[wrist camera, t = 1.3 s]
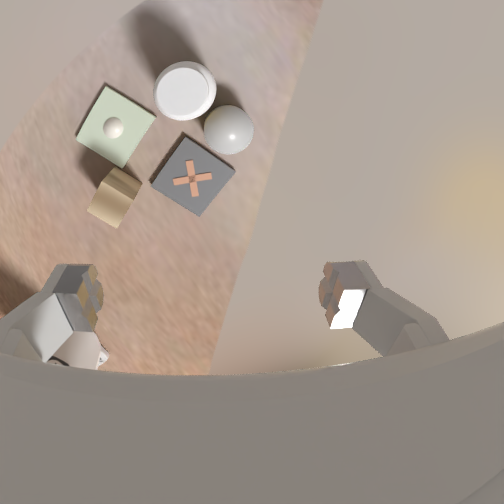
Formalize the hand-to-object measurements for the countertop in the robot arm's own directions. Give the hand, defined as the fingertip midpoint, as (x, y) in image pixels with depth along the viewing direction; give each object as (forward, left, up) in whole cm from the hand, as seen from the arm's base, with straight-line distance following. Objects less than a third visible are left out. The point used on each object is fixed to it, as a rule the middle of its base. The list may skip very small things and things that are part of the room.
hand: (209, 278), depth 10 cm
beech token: (-11, +5, -24) cm, 27 cm away
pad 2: (-5, -2, -24) cm, 25 cm away
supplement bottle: (+3, +5, -25) cm, 25 cm away
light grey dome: (+2, -1, -24) cm, 25 cm away
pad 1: (-5, +9, -24) cm, 26 cm away
